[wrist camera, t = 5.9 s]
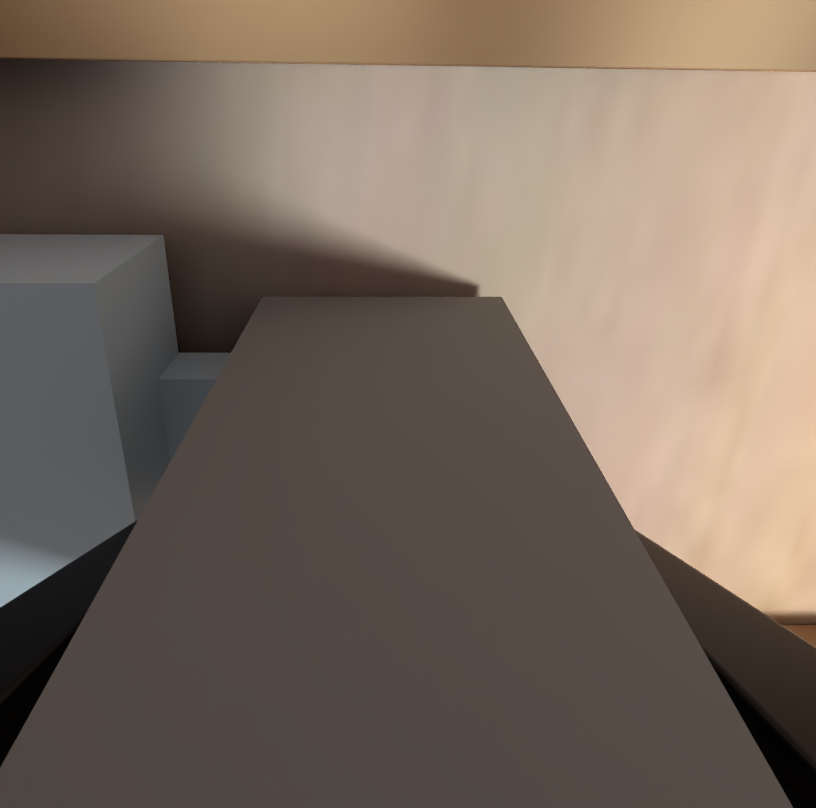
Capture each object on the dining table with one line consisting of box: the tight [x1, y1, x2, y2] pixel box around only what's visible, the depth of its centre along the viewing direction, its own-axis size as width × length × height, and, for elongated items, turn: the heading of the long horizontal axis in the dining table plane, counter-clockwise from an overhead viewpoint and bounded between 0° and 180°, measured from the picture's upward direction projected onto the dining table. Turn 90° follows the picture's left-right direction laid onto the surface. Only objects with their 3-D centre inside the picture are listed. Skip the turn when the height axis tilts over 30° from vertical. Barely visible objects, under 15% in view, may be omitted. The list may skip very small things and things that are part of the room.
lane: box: [0, 0, 816, 647], centre depth 12 cm, size 20×13×1 cm, turn 89°
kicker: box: [0, 234, 793, 808], centre depth 8 cm, size 8×6×9 cm
